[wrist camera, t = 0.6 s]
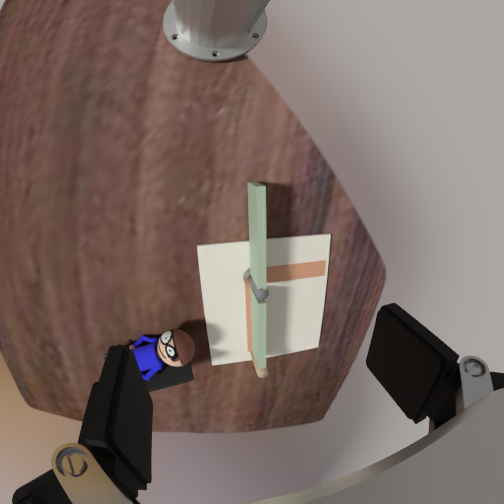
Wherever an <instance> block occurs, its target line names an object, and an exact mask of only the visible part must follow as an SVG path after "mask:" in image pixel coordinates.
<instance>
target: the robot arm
mask: <svg viewBox="0 0 504 504" xmlns="http://www.w3.org/2000/svg"><path fill="white" fill-rule="evenodd" d="M269 1H270V0H173V1H172V2H171V3H170V5H169V6H168V8H167V10H166V12H165V14H164V19H163V29H164V33H165V36H166V38H167V40H168V42H169V43H170V44H171V45H172V47H173V48H174V49H176V50H177V51H178V52H180V53H181V54H183V55H185V56H187V57H190V58H193V59H196V60H201V61H207V62H218V61H226V60H230V59H234V58H237V57H239V56H242V55H244V54H246V53H247V52H249V51H250V50H251V49H253V48H254V47H255V46H256V45H257V44H258V42H259V41H260V40H261V38H262V37H263V34H264V33H265V30H266V25H267V18H266V14H265V11H264V9H265V7H266V6H267V4H268V2H269ZM253 37H255V38H256V39H254V38H253ZM174 38H177V39H176V40H173V39H174ZM213 55H217V57H213ZM458 358H459V355H458V354H456V353H455V352H454V351H453V350H452V349H451V348H450V347H448V346H447V345H446V344H445V343H444V342H443V341H441V340H440V339H439V338H438V337H437V336H435V335H434V334H433V333H432V332H431V331H429V330H428V329H427V328H426V327H425V326H423V325H422V324H421V323H420V322H418V321H417V320H416V319H415V318H413V317H412V316H411V315H410V314H408V313H407V312H406V311H405V310H403V309H402V308H401V307H400V306H398V305H397V304H395V303H391V304H388V305H384V306H382V307H381V309H380V310H379V311H378V313H377V317H376V322H375V327H374V331H373V335H372V339H371V343H370V347H369V351H368V355H367V359H366V365H367V367H368V368H369V369H370V371H371V372H372V373H373V375H374V376H375V377H376V378H377V380H378V381H379V382H380V383H381V385H382V386H383V387H384V388H385V390H386V391H387V392H388V393H389V394H390V396H391V397H392V398H393V400H394V401H395V402H396V403H397V405H398V406H399V407H400V408H401V410H402V411H403V412H404V413H405V415H406V416H407V417H408V418H409V419H412V420H413V421H414V422H415V424H417V423H419V422H420V421H422V420H424V419H425V418H426V417H427V416H428V417H429V418H430V421H429V434H428V435H426V436H424V437H423V438H422V439H420V440H418V441H416V442H415V443H413V444H411V445H409V446H408V447H406V448H404V449H402V450H400V451H398V452H397V453H395V454H393V455H391V456H389V457H387V458H385V459H383V460H381V461H379V462H377V463H375V464H372V465H370V466H368V467H366V468H363V469H361V470H359V471H356V472H354V473H351V474H349V475H346V476H344V477H341V478H339V479H336V480H333V481H330V482H327V483H325V484H322V485H318V486H315V487H312V488H309V489H306V490H303V491H299V492H295V493H291V494H287V495H283V496H280V497H275V498H270V499H266V500H260V501H255V502H249V503H243V504H504V373H497V372H489V368H488V366H487V364H486V363H485V362H484V361H483V360H481V359H480V358H478V357H475V356H466V357H464V358H462V359H461V361H460V363H459V364H458V363H457V360H458ZM152 417H153V403H152V399H151V396H150V394H149V392H148V389H147V387H146V384H145V382H144V379H143V377H142V374H141V371H140V369H139V366H138V363H137V361H136V358H135V355H134V352H133V350H132V349H128V348H127V346H126V345H120V346H110V348H109V350H108V354H107V357H106V360H105V363H104V366H103V369H102V373H101V376H100V379H99V382H95V383H94V384H93V386H92V390H91V393H90V396H89V400H88V404H87V407H86V411H85V415H84V419H83V423H82V427H81V431H80V436H79V440H78V444H77V443H67V444H64V445H61V446H60V447H59V448H57V449H56V451H55V452H54V454H53V456H52V468H53V469H51V470H49V471H48V472H46V473H44V474H43V475H41V476H39V477H38V478H36V479H34V480H32V481H31V482H29V483H27V484H25V485H24V486H22V487H20V488H19V489H17V490H16V491H15V493H14V495H13V499H12V503H13V504H141V503H140V502H139V501H138V500H137V499H136V497H138V490H147V483H151V448H152Z"/></svg>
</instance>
